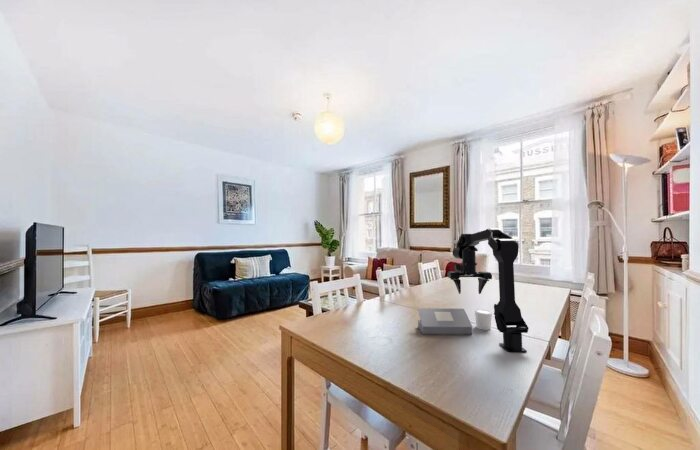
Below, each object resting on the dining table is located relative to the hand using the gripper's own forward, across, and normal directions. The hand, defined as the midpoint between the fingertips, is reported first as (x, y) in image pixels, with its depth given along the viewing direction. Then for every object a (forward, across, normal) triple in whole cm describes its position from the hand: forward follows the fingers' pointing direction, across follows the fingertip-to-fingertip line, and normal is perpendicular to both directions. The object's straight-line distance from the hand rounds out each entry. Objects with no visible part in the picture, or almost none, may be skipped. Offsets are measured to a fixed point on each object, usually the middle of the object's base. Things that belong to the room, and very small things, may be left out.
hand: (469, 293), depth 125 cm
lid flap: (+8, +15, +11) cm, 20 cm away
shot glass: (+14, -4, +6) cm, 15 cm away
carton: (+14, +15, +10) cm, 23 cm away
